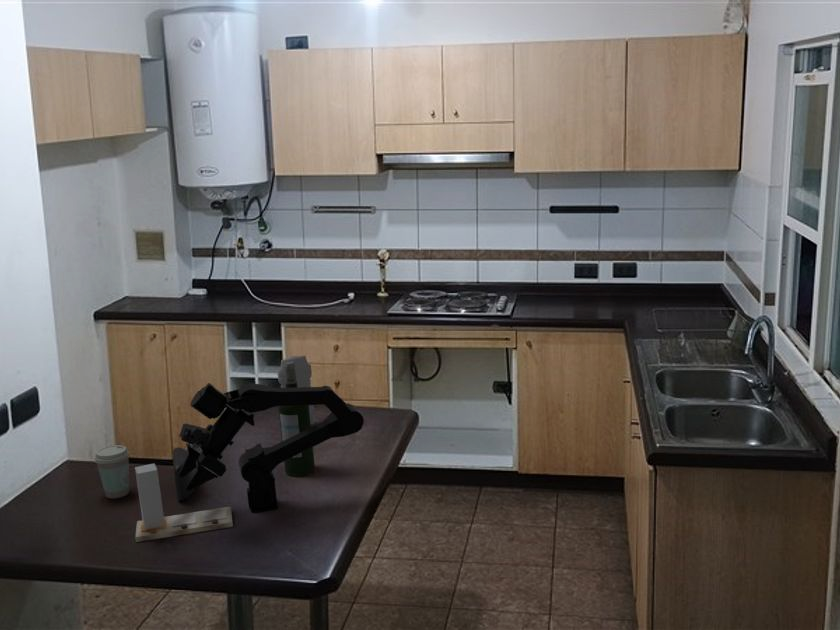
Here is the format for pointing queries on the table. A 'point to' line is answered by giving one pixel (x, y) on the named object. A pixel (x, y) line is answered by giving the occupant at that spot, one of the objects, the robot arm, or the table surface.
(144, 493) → the block
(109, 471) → the coffee cup
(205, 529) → the switch board
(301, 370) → the tall pale column
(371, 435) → the table surface
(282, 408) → the wine bottle
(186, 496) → the leaning round-cornered charcoal block
